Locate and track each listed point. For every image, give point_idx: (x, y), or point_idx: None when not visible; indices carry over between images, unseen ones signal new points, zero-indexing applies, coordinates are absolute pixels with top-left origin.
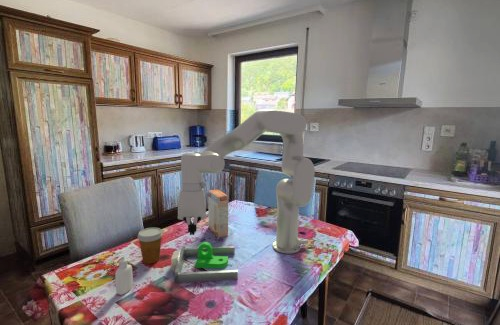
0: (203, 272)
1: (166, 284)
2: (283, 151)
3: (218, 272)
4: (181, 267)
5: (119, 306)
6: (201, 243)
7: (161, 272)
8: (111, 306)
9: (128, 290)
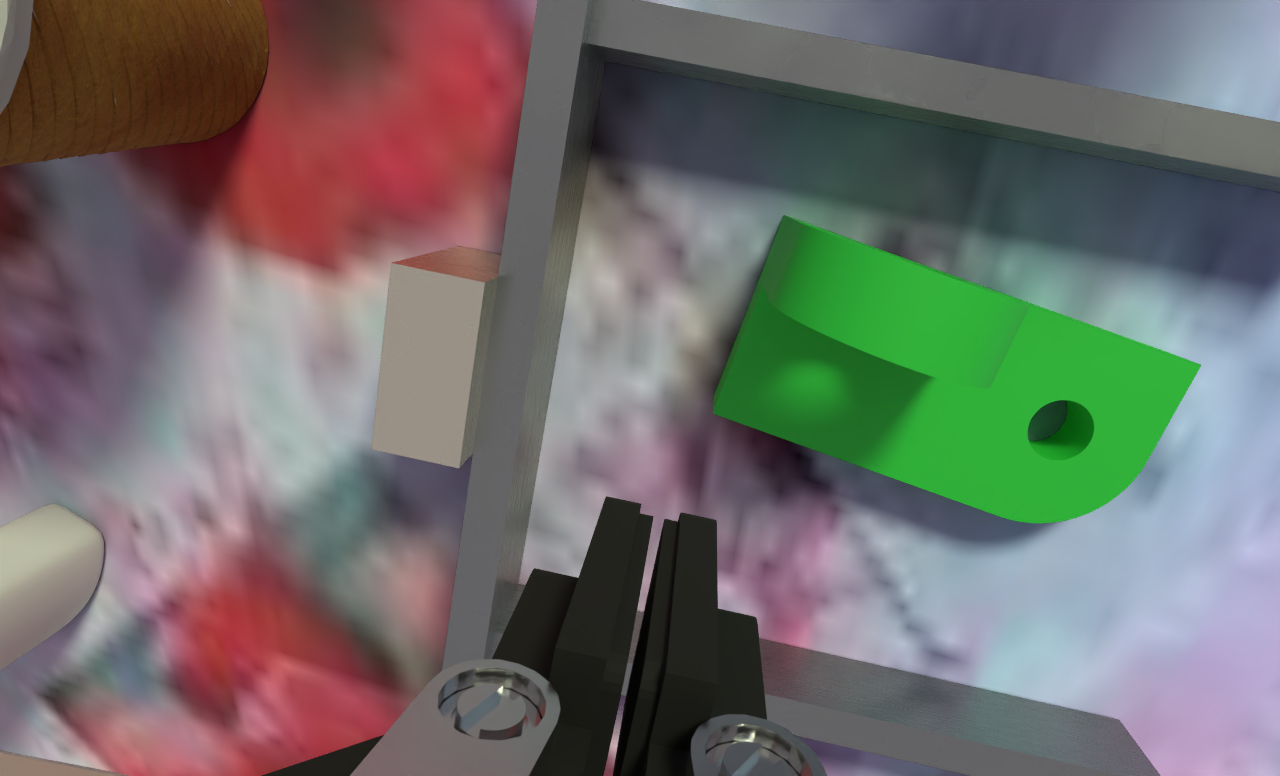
0: None
1: (402, 602)
2: None
3: (929, 762)
4: (541, 412)
5: (83, 751)
6: (858, 267)
7: (333, 379)
8: (26, 732)
9: (84, 604)
